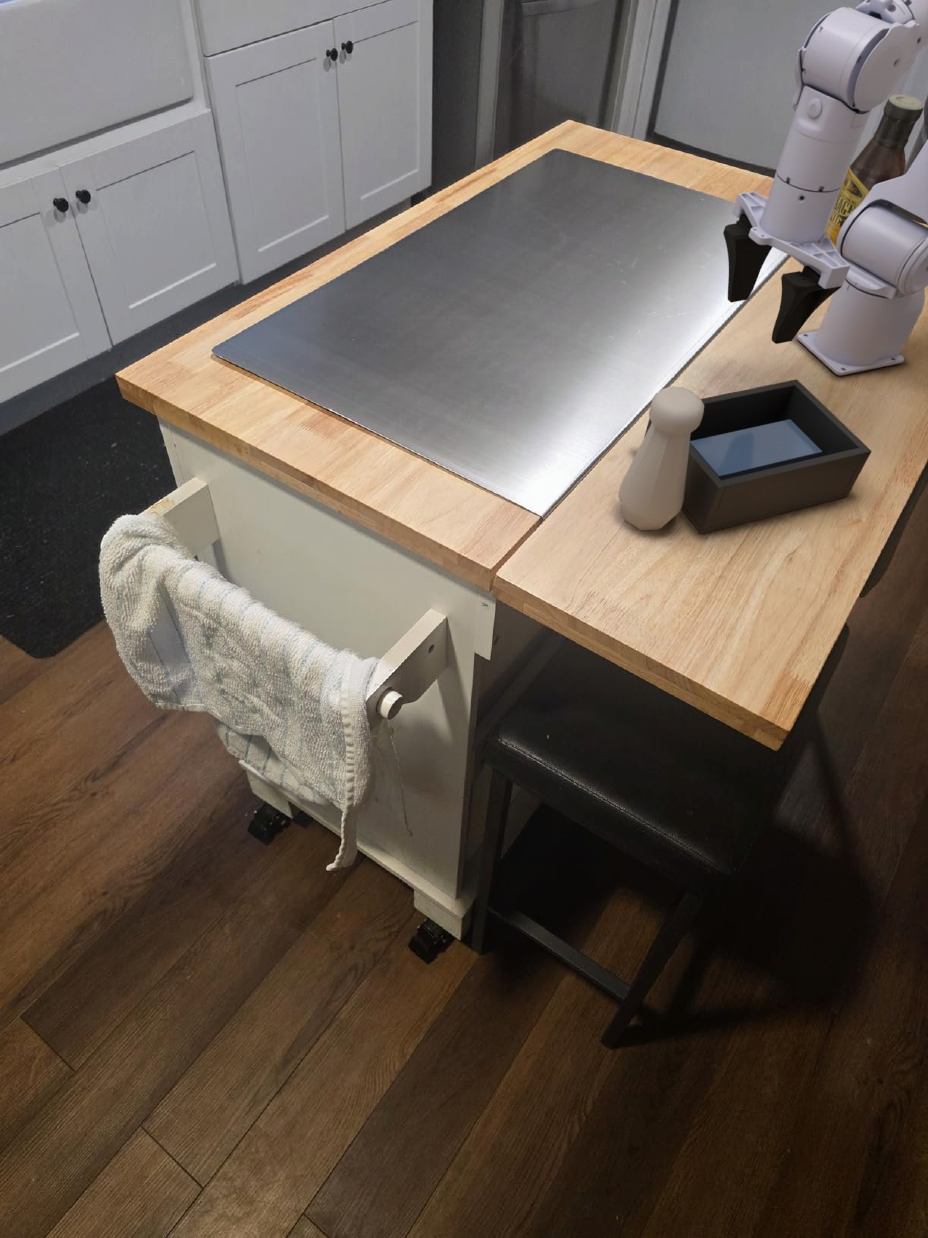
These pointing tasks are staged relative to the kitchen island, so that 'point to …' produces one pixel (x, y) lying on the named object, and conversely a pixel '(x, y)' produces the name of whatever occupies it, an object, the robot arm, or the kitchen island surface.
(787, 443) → the blue block in tray
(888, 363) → the robot arm
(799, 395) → the tub
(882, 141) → the sauce bottle
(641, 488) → the salt shaker
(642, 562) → the kitchen island surface
